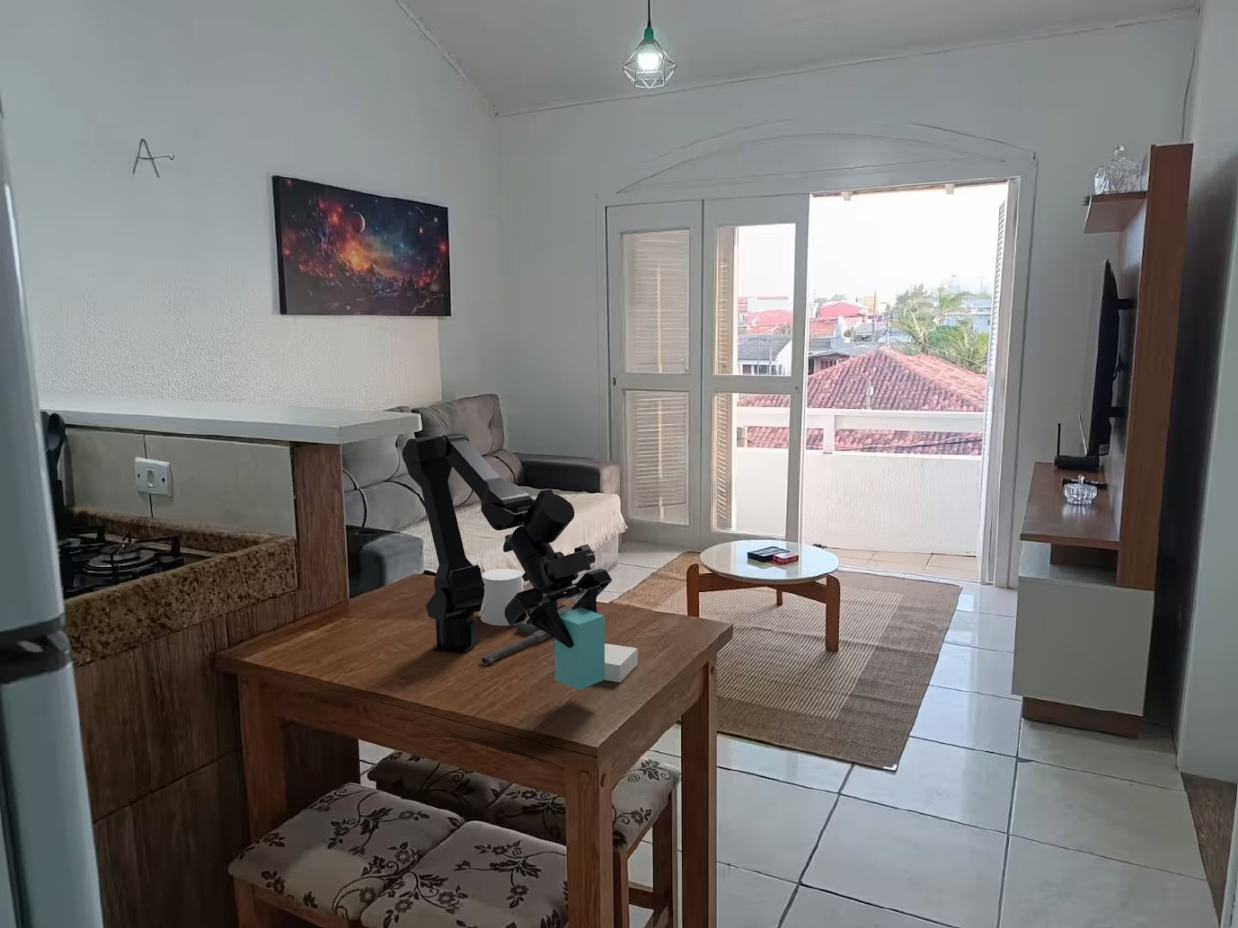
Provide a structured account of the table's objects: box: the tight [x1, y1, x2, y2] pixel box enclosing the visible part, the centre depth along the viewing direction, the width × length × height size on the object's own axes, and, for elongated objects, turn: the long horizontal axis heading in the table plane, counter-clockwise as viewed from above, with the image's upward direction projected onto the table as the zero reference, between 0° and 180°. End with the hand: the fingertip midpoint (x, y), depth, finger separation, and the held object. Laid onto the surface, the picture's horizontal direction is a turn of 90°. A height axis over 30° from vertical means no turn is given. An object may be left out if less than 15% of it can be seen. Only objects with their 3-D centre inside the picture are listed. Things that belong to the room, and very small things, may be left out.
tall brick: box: [554, 607, 606, 691], centre depth 136 cm, size 6×6×10 cm
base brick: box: [604, 643, 639, 683], centre depth 150 cm, size 8×8×3 cm
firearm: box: [480, 601, 574, 665], centre depth 168 cm, size 3×30×15 cm
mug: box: [478, 568, 525, 627], centre depth 175 cm, size 12×9×8 cm
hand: (585, 641), depth 135 cm, fingers closed on tall brick, 5 cm apart
